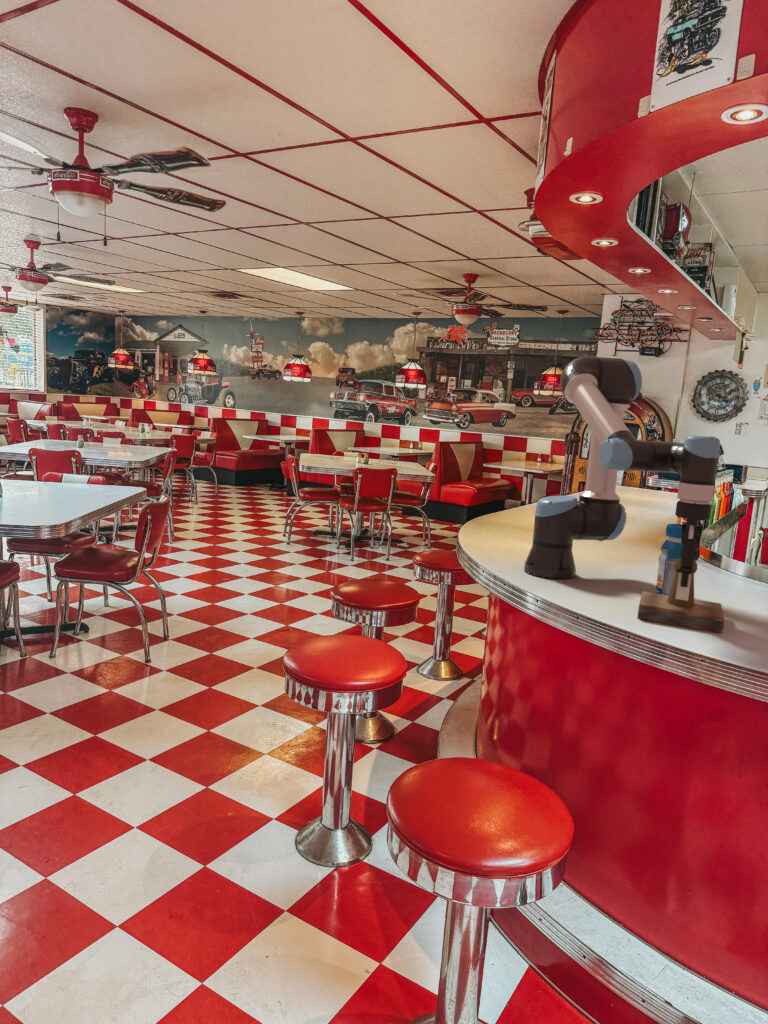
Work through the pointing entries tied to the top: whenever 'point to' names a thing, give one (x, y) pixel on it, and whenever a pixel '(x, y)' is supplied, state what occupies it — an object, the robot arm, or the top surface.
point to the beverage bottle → (669, 558)
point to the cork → (673, 589)
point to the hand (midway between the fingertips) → (681, 595)
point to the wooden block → (681, 612)
